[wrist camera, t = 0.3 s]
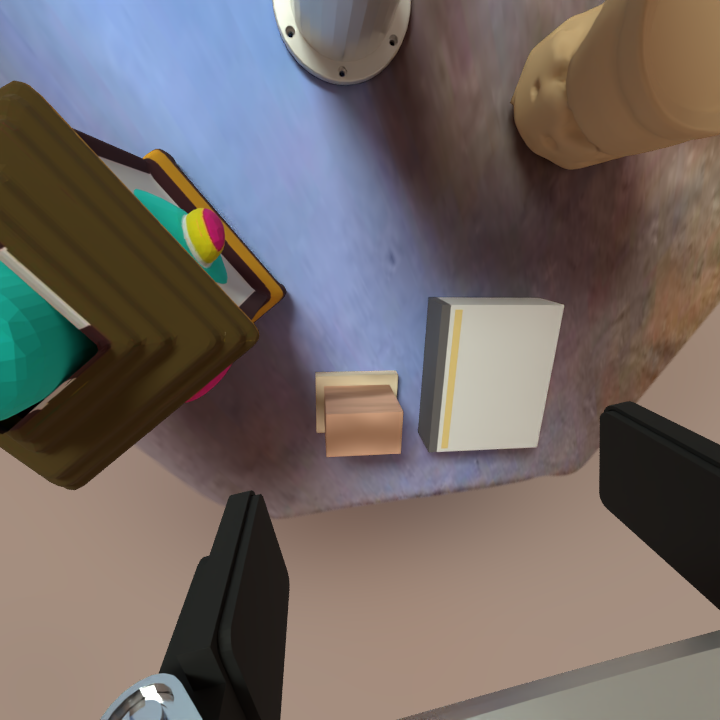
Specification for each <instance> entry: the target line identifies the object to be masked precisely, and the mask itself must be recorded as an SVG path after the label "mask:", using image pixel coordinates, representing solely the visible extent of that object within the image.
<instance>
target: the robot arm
mask: <svg viewBox="0 0 720 720" xmlns="http://www.w3.org/2000/svg"><path fill="white" fill-rule="evenodd" d="M272 2H273V10H274V14H275V19H276V23H277V26H278V29H279V32H280V34H281V37H282V39H283V41H284V43H285V45H286V46H287V48H288V50H289V52H290V53H291V54H292V55H293V57H294V58H295V59H296V61H297V62H298V63H299V64H300V65H301V66H302V67H303V68H305V69H306V70H307V71H308V72H309V73H311V74H312V75H314V76H316V77H317V78H319V79H321V80H324V81H326V82H329V83H332V84H339V85H351V84H358V83H361V82H364V81H367V80H369V79H371V78H373V77H374V76H376V75H378V74H379V73H380V72H381V71H382V70H383V69H384V68H386V67H387V66H388V65H389V63H390V62H391V61H392V59H393V58H394V56H395V55H396V54H397V52H398V50H399V48H400V46H401V44H402V41H403V39H404V36H405V34H406V31H407V27H408V23H409V18H410V10H411V0H272ZM290 33H291V34H293V37H291V38H290V37H288V35H289V34H290ZM390 42H393V43H394V46H392V45H390ZM341 72H342V73H344V77H341V76H340V75H339V74H340V73H341ZM599 480H600V481H599V493H600V499H601V501H602V503H603V504H604V506H605V507H606V508H607V509H608V510H609V511H610V512H611V513H612V514H614V515H615V516H616V517H617V518H618V519H620V521H622V522H623V523H624V524H625V525H626V526H627V527H628V528H629V529H630V530H632V532H634V533H635V534H636V535H637V536H638V537H639V538H640V539H641V540H643V541H644V542H645V543H646V544H647V545H648V546H649V547H650V548H651V549H652V550H654V551H655V552H656V553H657V554H658V555H659V556H660V557H661V558H663V559H664V560H665V561H666V562H667V563H668V564H669V565H670V566H671V567H673V568H674V569H675V570H676V571H677V572H678V573H679V574H680V575H681V576H683V577H684V578H685V579H686V580H687V581H688V582H689V583H690V584H691V585H693V586H694V587H695V588H696V589H697V590H698V591H699V592H700V593H701V594H703V595H704V596H705V597H706V598H707V599H708V600H709V601H710V602H712V603H713V604H714V605H715V606H716V607H717V608H718V609H719V610H720V445H719V444H717V443H715V442H713V441H711V440H709V439H707V438H705V437H703V436H701V435H699V434H697V433H695V432H693V431H691V430H688V429H687V428H685V427H683V426H680V425H678V424H676V423H674V422H672V421H670V420H668V419H666V418H664V417H662V416H660V415H658V414H656V413H654V412H652V411H650V410H648V409H646V408H644V407H642V406H640V405H638V404H636V403H634V402H630V401H629V402H623V403H619V404H615V405H610V406H608V407H606V408H605V410H604V413H602V414H601V416H600V476H599ZM288 601H289V576H288V572H287V568H286V566H285V562H284V559H283V556H282V553H281V550H280V547H279V544H278V541H277V538H276V535H275V532H274V529H273V526H272V522H271V519H270V516H269V513H268V510H267V507H266V504H265V501H264V498H263V496H262V495H261V494H259V495H255V493H254V491H252V490H251V491H247V492H243V493H238V494H234V495H231V496H230V497H229V499H228V502H227V505H226V508H225V511H224V514H223V517H222V519H221V523H220V525H219V529H218V532H217V535H216V538H215V540H214V544H213V547H212V549H211V552H210V555H209V556H206V557H203V558H202V559H201V560H200V562H199V564H198V566H197V569H196V572H195V575H194V577H193V580H192V583H191V585H190V588H189V591H188V594H187V597H186V599H185V602H184V605H183V608H182V610H181V613H180V616H179V619H178V621H177V624H176V627H175V630H174V632H173V635H172V638H171V641H170V643H169V647H168V649H167V652H166V655H165V657H164V660H163V663H162V666H161V668H160V671H159V674H156V675H151V676H149V677H147V678H145V679H142V680H140V681H138V682H137V683H135V684H134V685H133V686H131V687H130V688H128V689H127V690H126V691H124V692H123V693H122V694H121V695H120V696H119V697H118V698H117V699H116V700H115V701H114V702H113V703H112V704H111V705H110V707H109V708H108V709H107V710H106V712H105V713H104V714H103V716H102V717H101V719H100V720H280V714H281V701H282V686H283V672H284V658H285V643H286V630H287V615H288ZM398 720H720V630H718V631H715V632H711V633H707V634H704V635H700V636H696V637H692V638H689V639H685V640H681V641H678V642H674V643H670V644H666V645H663V646H659V647H655V648H652V649H648V650H645V651H641V652H637V653H634V654H630V655H626V656H623V657H619V658H615V659H612V660H608V661H605V662H601V663H597V664H594V665H590V666H587V667H583V668H579V669H576V670H572V671H568V672H565V673H561V674H558V675H554V676H551V677H547V678H543V679H539V680H536V681H532V682H529V683H525V684H521V685H518V686H514V687H511V688H507V689H504V690H500V691H497V692H494V693H490V694H486V695H483V696H479V697H476V698H472V699H468V700H465V701H461V702H458V703H455V704H451V705H447V706H444V707H440V708H437V709H433V710H430V711H426V712H422V713H419V714H415V715H412V716H408V717H405V718H402V719H398Z"/></svg>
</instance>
